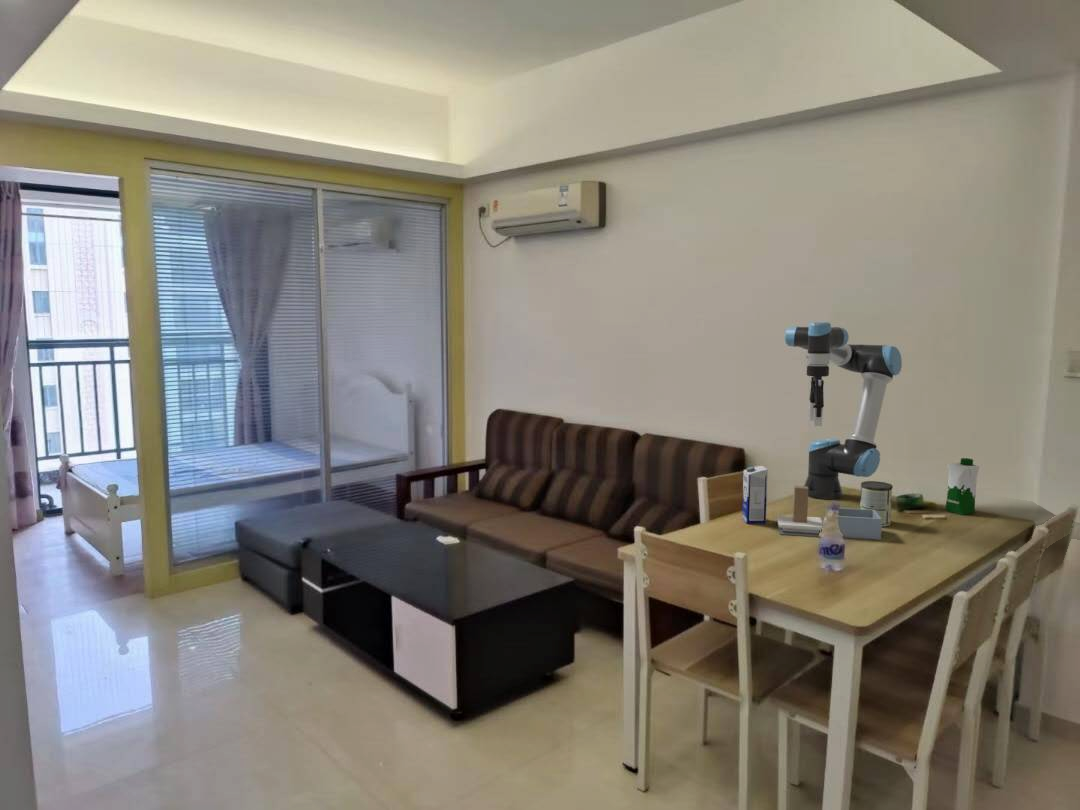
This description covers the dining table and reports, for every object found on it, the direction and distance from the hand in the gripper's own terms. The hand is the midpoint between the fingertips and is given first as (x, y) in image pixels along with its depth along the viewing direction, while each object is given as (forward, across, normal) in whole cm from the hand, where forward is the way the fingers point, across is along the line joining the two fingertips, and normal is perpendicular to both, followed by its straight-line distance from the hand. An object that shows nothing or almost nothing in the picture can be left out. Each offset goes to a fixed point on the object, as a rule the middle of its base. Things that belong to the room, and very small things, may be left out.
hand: (815, 423), depth 267 cm
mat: (+35, +19, -6) cm, 40 cm away
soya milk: (+35, -19, +55) cm, 68 cm away
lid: (+34, +19, -6) cm, 40 cm away
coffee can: (+35, +4, +21) cm, 41 cm away
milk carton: (+35, +12, -21) cm, 42 cm away
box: (+35, +19, +12) cm, 41 cm away
